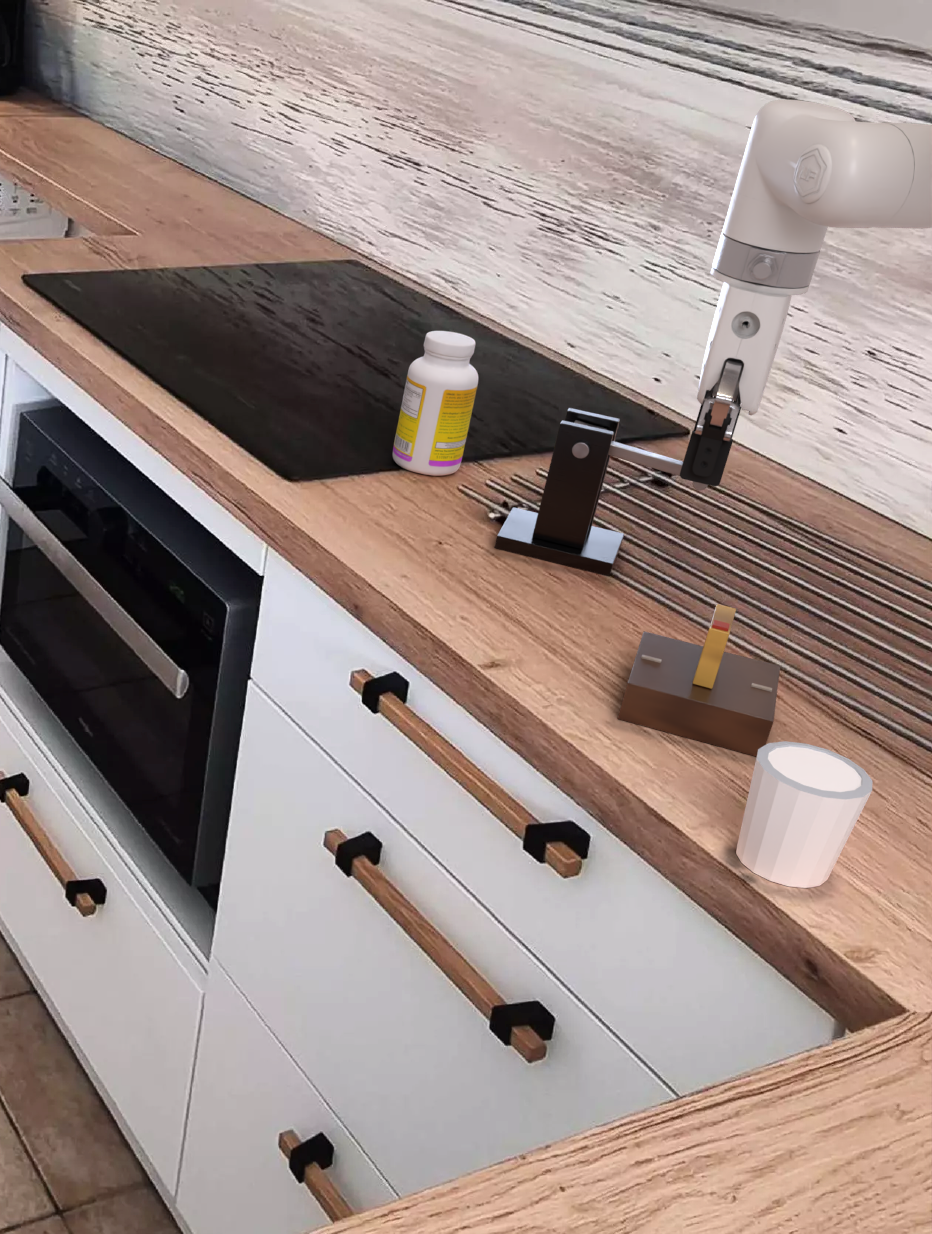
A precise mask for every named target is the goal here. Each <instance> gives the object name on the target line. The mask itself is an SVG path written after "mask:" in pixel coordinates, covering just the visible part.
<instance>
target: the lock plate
mask: <svg viewBox="0 0 932 1234" xmlns="http://www.w3.org/2000/svg"><path fill="white" fill-rule="evenodd" d="M703 646H704V645H701V644H697V643H694V642H693V643H692V642H687V641H684V640H681V639H677V638H673V637H668V636H666V635H665V636H664V635H662V634H658V633H652V632H649V631H645V630H643V631H642V635H641V638H640V642H639V645H638V648H637V651H636V654H635V657H634V660H633V665H632V668H631V671H630V673H629V676H628V677H629V678H628V680H627V684H626V687H625V690H624V695H623V698H622V701H621V705H620V708H619V712H618V715H617V720H620V721H624V722H628V723H631V724H635V725H639V726H643V727H646V728H650V729H653V730H658V731H661V732H665V733H667V734H672V735H675V736H679V737H682V738H687V739H690V740H694V741H698V742H702V743H706V744H708V745H713V746H715V747H716V746H717V747H719V748H722V749H723V748H724V749H727V750H730V751H734V752H738V753H742V754H746V755H748V756H753V757H755V758H757V753H758V749H760V748H761V747H763V746H765V745H766V744H768V739H769V736H770V733H771V731H772V727H773V725H774V723H775V722H774V721H775V713H776V705H777V696H778V689H779V681H780V680H779V679H780V672H781V665H779V664H774V663H770V662H767V661H764V660H763V661H762V660H759V659H755V658H751V657H748V656H742V655H739V654H736V653H732V652H727V651H724V653H723V656H722V659H721V663H720V666H719V669H718V672H717V675H716V679H715V682H714V685H713V688H712V689H710V688H707V687H703V686H699V685H696V684H693V679H694V676H695V673H696V669H697V666H698V663H699V659H700V656H701V653H702V650H703Z"/></svg>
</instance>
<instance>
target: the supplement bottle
mask: <svg viewBox="0 0 932 1234" xmlns="http://www.w3.org/2000/svg"><path fill="white" fill-rule="evenodd" d="M423 349H424V354H423V356H420V357H418V358H416V359H415V360H413V361H412V362H411V363H410V365H409V367H408V371H407V375H406V380H405V386H404V391H403V396H402V402H401V406H400V411H399V416H398V422H397V426H396V431H395V437H394V442H393V447H392V459H393V462H395V463H396V465H397V466H399V467H401V468H402V469H404V470H407V471H409V472H413V473H417V474H419V475H420V474H421V475H425V476H433V477H435V476H437V477H439V476H440V477H441V476H448V475H452V474H454V473H456V472H457V471H458V470H459V469H460V467H461V464H462V460H463V456H464V450H465V447H466V443H467V437H468V432H469V429H470V423H471V418H472V415H473V414H472V413H473V409H474V404H475V399H476V395H477V390H478V384H479V374H478V370H476V368H475V367H474V366H473V365H472V364H471V363H470V360H471V358H472V356H473V355H474V353H475V349H476V340H475V339H474V338H472V337H471V336H468V335H466V334H463V333H460V332H456V331H455V332H454V331H448V330H432V331H428V332H427V333H426V334H425V338H424V341H423Z"/></svg>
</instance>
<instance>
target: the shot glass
mask: <svg viewBox="0 0 932 1234" xmlns="http://www.w3.org/2000/svg"><path fill="white" fill-rule="evenodd" d="M873 784H874V783H873V779H872V778H871V776H870V775H869V774H868V773H867V772H866V770H865V769H864V768H863V767H862V766H860V765H859V764H857V763H856V762H854V761H853V760H851V759H849V758H848V757H846V756H844V755H841V754H839V753H836V752H835V751H832V750H830V749H827V748H823V747H821V746H817V745H814V744H809V743H806V742H795V741H787V740H784V741H777V742H776V741H775V742H767V743H766V745H765V746H763V747H761V748H760V749H758V753H757V757H755V762H754V768H753V772H752V776H751V780H750V784H749V785H750V786H749V790H748V795H747V798H746V799H747V800H746V805H745V808H744V811H743V817H742V821H741V827H740V830H739V834H738V835H739V836H738V840H737V844H736V851H735V854H736V856H737V858H738V859H739V861H740V863H741V864H742V865H743V866H745V867H746V868H747V869H748V870H749V871H750V872H752V873H754V874H755V875H757V876H759V877H762V878H763V879H765V880H767V881H769V882H772V883H776V884H779V885H783V886H786V887H791V888H801V889H810V888H815V887H820V886H821V885H823V884H825V882H827V881H828V879H829V877H830V875H831V873H832V871H833V869H834V867H835V865H836V864H837V861H838V859H839V858H840V855H841V853H842V852H843V849H844V847H845V845H846V843H847V841H848V840H849V837H850V836H851V834H852V831H853V829H854V828H855V826H856V824H857V822H858V819H859V818H860V816H861V813H862V812H863V810H864V808H865V806H866V804H867V801H868V800H869V797H870V796H871V794H872V792H873Z"/></svg>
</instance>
